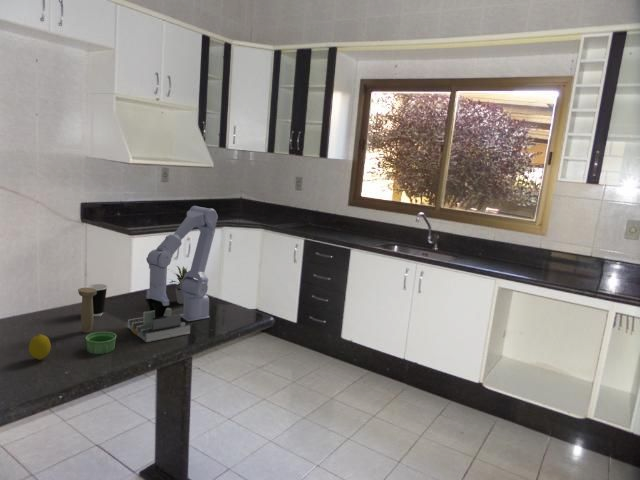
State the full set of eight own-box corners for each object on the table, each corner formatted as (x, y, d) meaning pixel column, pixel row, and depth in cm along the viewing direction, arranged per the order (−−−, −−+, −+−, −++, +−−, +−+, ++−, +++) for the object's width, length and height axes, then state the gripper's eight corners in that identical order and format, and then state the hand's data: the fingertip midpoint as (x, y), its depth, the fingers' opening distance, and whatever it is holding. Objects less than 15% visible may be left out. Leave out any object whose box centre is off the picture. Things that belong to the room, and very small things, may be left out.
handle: (86, 335, 159) (86, 293, 157) (75, 330, 163) (75, 289, 160) (99, 332, 164) (99, 290, 161) (87, 327, 167) (88, 286, 164)
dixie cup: (80, 316, 176) (80, 288, 174) (91, 310, 184) (91, 283, 182) (100, 318, 176) (101, 290, 174) (111, 312, 184) (111, 285, 182)
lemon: (35, 355, 142) (34, 330, 141) (54, 356, 142) (54, 331, 141) (25, 363, 136) (24, 337, 135) (45, 364, 137) (44, 338, 136)
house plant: (157, 300, 203) (158, 263, 200) (184, 295, 214) (186, 260, 211) (176, 309, 194) (177, 270, 191) (203, 303, 205) (205, 266, 202)
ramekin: (82, 355, 145) (82, 342, 144) (88, 344, 153) (88, 331, 153) (114, 354, 147) (114, 341, 147) (117, 343, 156) (118, 331, 155)
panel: (169, 323, 175) (169, 307, 174) (171, 324, 174) (171, 309, 173) (142, 327, 168) (143, 311, 167) (144, 329, 167) (145, 313, 166)
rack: (169, 320, 181) (170, 302, 180) (189, 333, 169) (190, 315, 168) (127, 327, 170) (127, 309, 169) (145, 342, 158) (146, 322, 157)
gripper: (138, 279, 171) (137, 315, 173) (155, 289, 160) (154, 327, 162) (157, 277, 175) (156, 312, 178) (175, 287, 165) (173, 323, 167)
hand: (156, 319), depth 170 cm, fingers open, 3 cm apart
